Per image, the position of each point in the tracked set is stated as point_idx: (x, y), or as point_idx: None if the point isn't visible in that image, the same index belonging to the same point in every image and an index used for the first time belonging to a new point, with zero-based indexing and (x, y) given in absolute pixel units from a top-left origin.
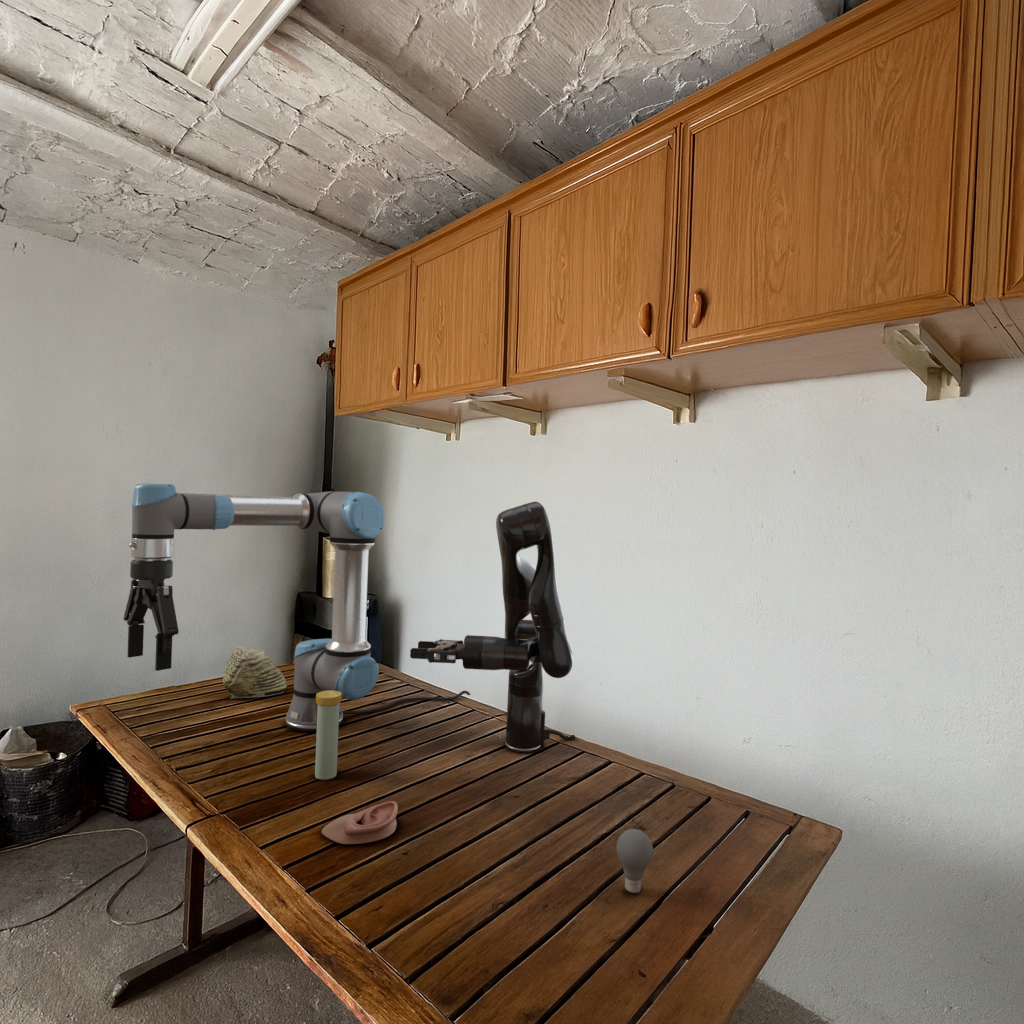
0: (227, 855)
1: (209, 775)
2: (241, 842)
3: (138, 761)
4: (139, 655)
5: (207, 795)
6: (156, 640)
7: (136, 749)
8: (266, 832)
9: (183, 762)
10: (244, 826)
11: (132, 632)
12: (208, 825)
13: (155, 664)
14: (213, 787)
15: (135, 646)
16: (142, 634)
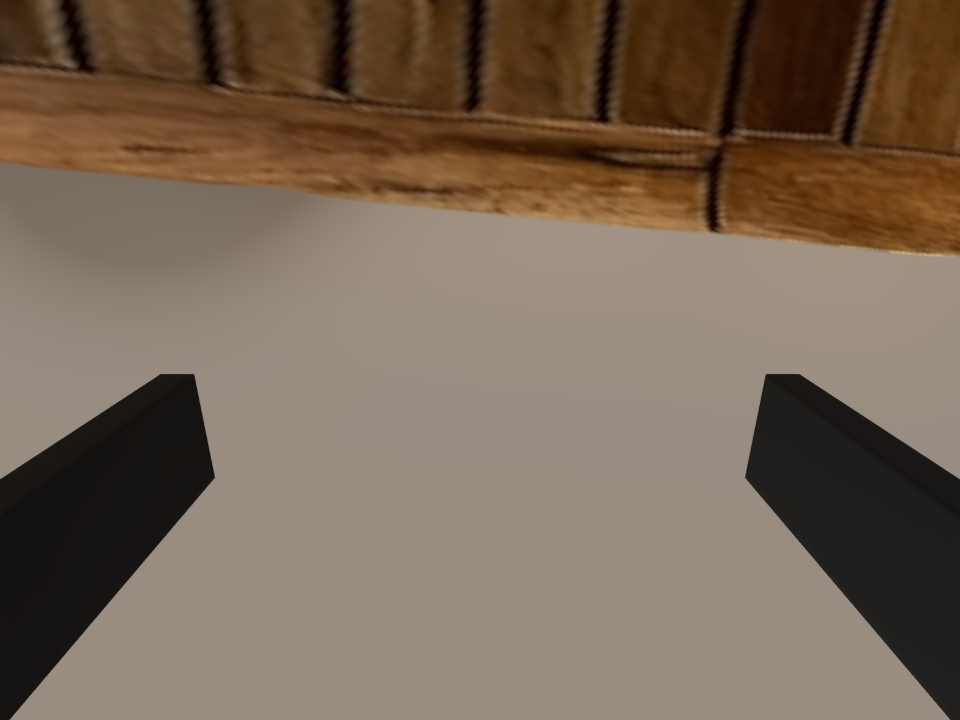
0: (917, 230)
1: (460, 27)
2: (901, 176)
3: (194, 155)
4: (196, 402)
5: (593, 108)
6: (952, 711)
7: (76, 117)
8: (923, 99)
9: (293, 43)
10: (843, 126)
11: (43, 644)
12: (755, 194)
13: (772, 505)
14: (555, 65)
15: (152, 485)
16: (37, 500)
